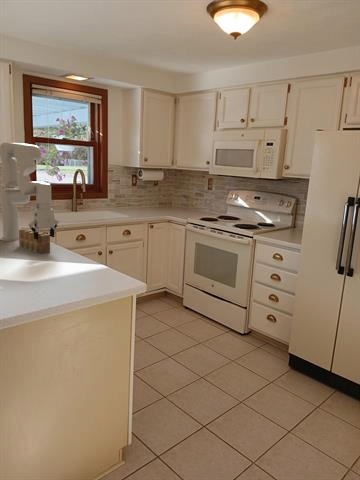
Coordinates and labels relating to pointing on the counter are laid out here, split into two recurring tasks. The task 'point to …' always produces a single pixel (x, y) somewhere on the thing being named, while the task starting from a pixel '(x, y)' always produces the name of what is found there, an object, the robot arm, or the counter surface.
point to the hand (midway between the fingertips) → (44, 237)
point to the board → (32, 250)
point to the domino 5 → (44, 243)
